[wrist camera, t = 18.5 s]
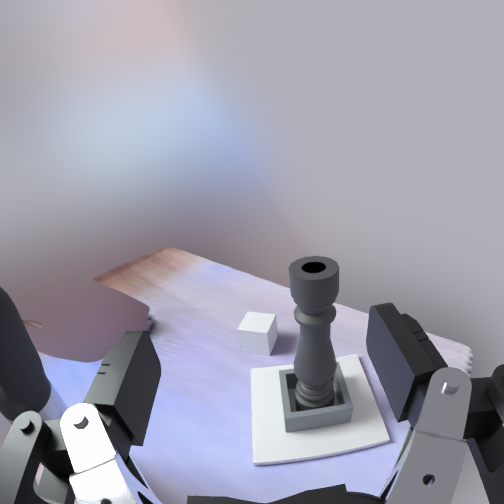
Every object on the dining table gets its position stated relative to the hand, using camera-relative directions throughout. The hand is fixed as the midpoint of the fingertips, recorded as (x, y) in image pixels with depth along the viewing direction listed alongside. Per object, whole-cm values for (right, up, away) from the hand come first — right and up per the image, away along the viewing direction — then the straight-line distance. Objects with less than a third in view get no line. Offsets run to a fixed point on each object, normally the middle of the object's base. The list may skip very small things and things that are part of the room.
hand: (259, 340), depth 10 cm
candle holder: (+10, -21, +34) cm, 41 cm away
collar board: (+10, -22, +34) cm, 42 cm away
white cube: (+1, -16, +51) cm, 53 cm away
